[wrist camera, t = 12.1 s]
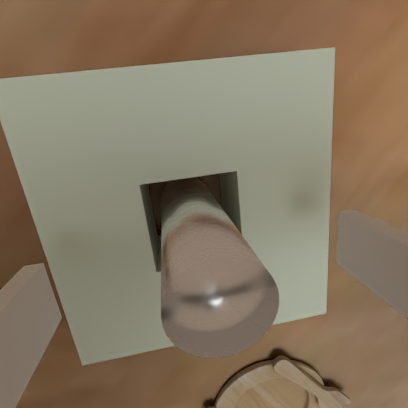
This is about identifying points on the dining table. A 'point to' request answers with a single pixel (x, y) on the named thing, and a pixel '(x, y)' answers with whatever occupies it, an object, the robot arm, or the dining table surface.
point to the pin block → (172, 170)
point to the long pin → (210, 276)
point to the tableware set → (279, 387)
